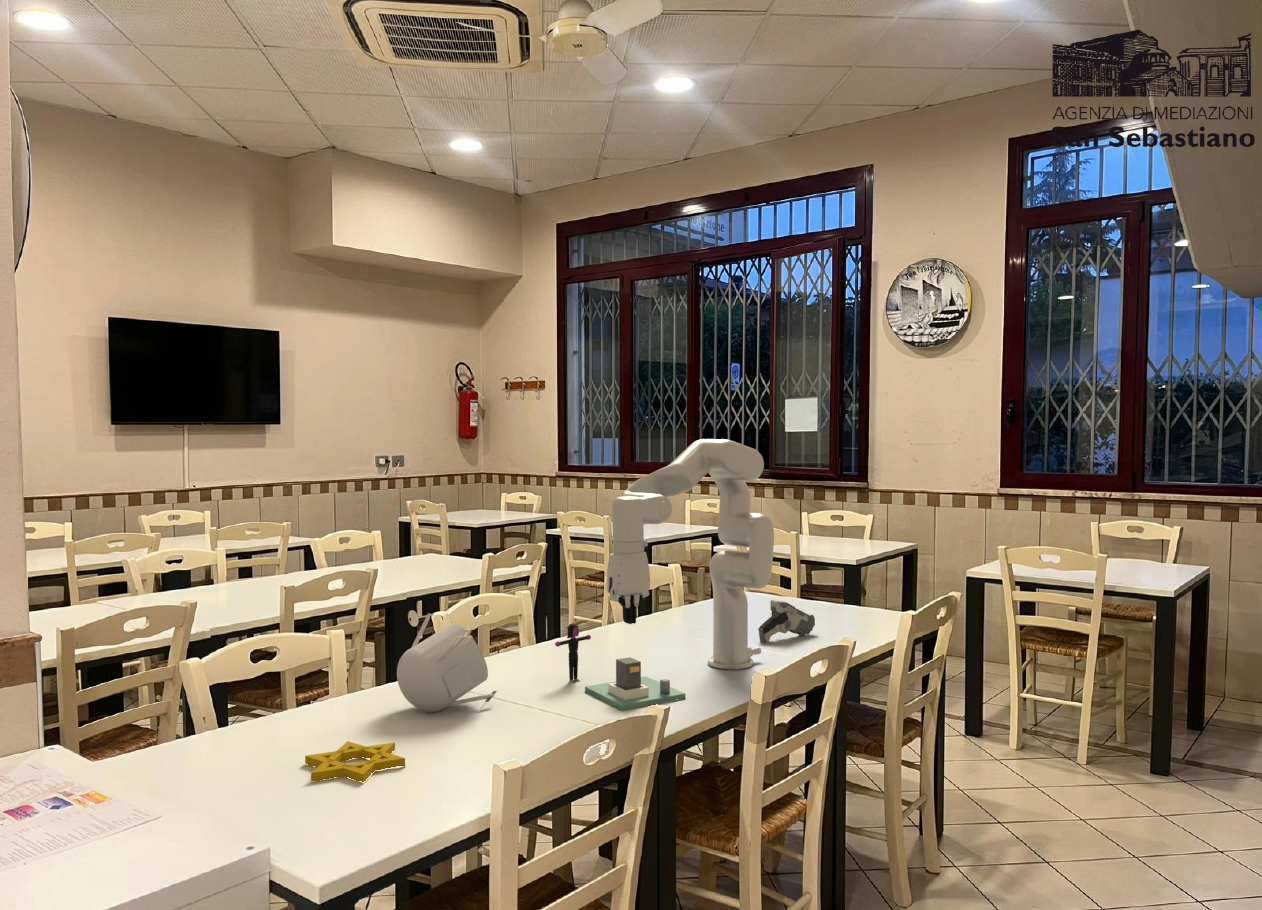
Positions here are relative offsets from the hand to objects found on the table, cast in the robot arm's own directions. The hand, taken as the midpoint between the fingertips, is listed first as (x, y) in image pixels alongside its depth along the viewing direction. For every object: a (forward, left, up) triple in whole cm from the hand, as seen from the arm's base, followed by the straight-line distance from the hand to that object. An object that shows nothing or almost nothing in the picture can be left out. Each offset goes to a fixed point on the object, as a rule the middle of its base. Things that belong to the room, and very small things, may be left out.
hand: (629, 622), depth 220 cm
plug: (+1, 0, -17) cm, 17 cm away
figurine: (+5, -21, -19) cm, 28 cm away
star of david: (+69, +10, -19) cm, 72 cm away
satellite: (+41, -16, -19) cm, 48 cm away
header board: (-2, -2, -19) cm, 19 cm away
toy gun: (-75, -29, -19) cm, 83 cm away
